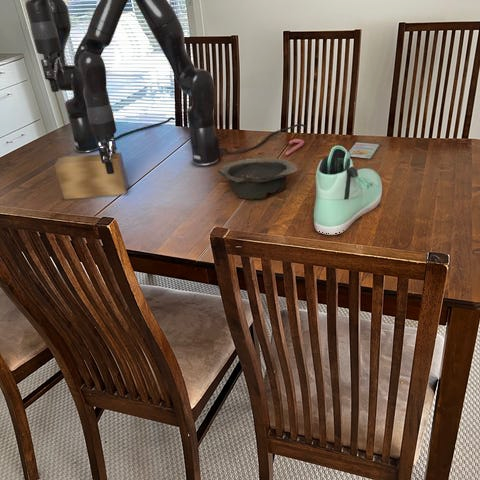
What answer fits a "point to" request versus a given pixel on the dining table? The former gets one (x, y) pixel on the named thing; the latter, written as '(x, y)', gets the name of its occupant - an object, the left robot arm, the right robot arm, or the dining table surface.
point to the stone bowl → (257, 176)
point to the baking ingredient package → (363, 150)
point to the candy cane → (295, 146)
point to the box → (90, 176)
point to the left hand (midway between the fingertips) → (59, 88)
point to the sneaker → (343, 192)
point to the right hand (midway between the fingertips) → (112, 169)
